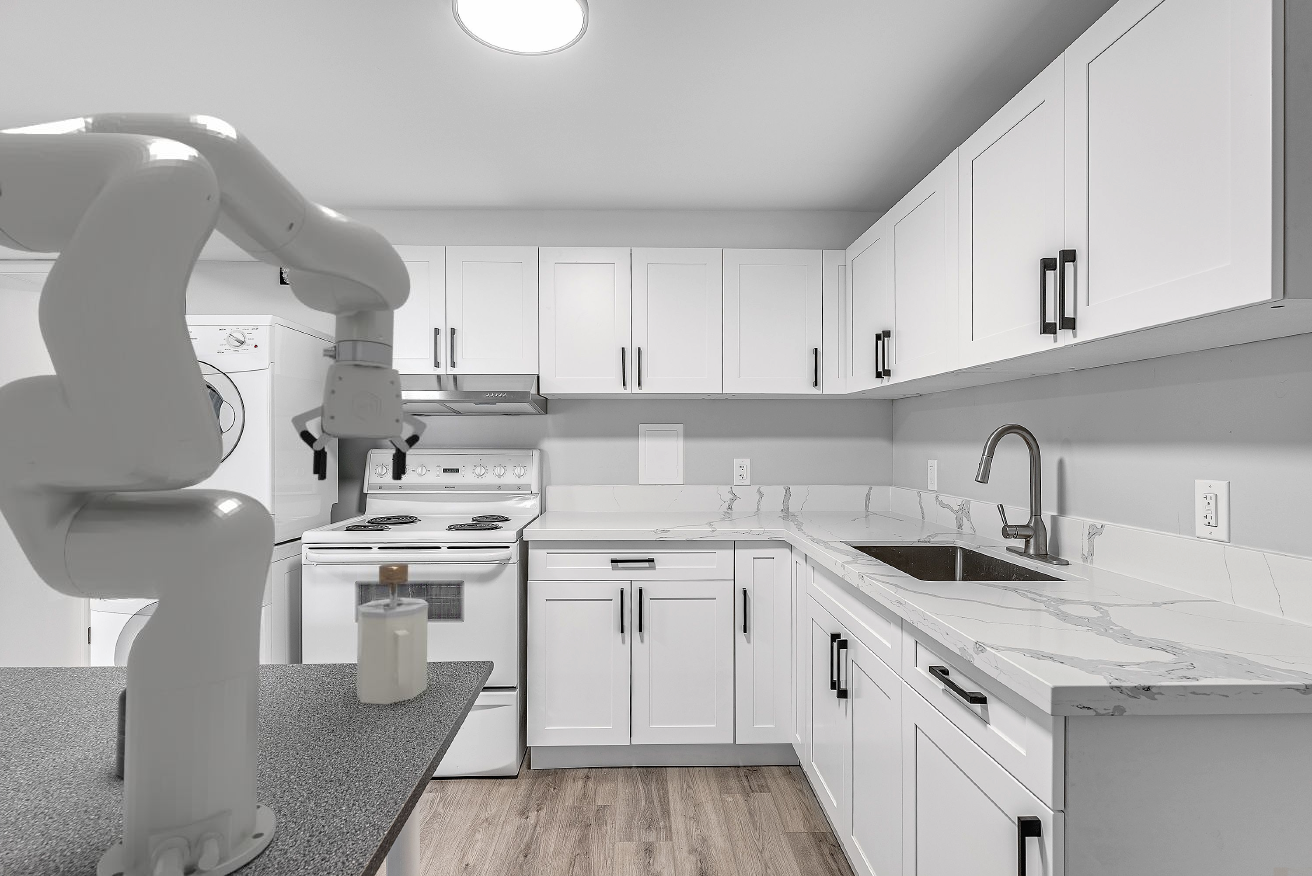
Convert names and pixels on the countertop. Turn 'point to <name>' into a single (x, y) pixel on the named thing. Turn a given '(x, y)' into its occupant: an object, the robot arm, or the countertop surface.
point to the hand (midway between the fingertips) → (360, 480)
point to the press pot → (392, 650)
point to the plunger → (393, 578)
